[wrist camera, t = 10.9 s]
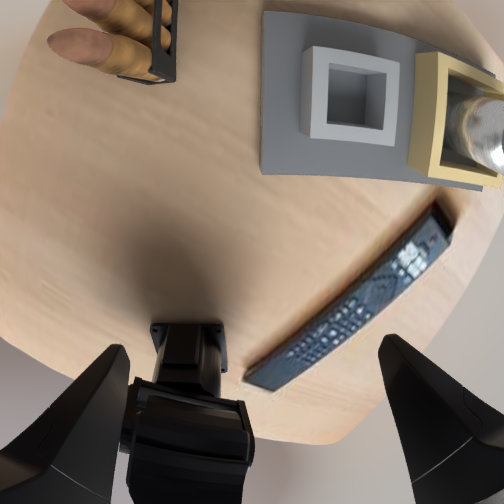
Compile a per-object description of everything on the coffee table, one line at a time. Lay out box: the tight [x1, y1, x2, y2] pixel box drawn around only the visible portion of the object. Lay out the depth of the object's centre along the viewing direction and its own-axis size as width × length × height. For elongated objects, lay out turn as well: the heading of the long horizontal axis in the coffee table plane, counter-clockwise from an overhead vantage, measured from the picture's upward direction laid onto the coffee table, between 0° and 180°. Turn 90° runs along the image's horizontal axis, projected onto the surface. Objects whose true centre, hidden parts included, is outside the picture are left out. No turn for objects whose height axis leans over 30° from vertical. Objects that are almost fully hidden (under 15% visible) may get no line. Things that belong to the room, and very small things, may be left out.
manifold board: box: [260, 11, 504, 192], centre depth 14 cm, size 10×18×4 cm, turn 90°
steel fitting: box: [442, 91, 504, 176], centre depth 12 cm, size 4×4×8 cm
